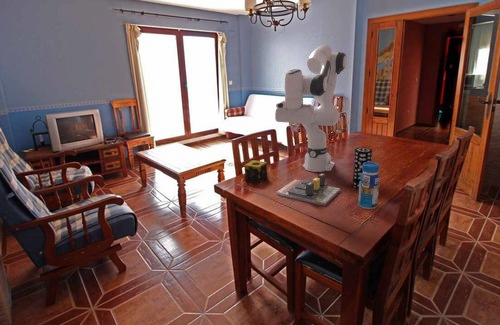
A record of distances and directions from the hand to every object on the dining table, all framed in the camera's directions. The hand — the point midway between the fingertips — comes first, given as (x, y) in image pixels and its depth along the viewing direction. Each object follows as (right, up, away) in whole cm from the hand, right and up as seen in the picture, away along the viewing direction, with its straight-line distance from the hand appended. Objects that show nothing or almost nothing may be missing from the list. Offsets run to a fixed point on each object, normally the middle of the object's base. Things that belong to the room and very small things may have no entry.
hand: (294, 131), depth 148 cm
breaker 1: (+6, -31, -7) cm, 32 cm away
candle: (-19, -26, +25) cm, 40 cm away
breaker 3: (+15, -27, +4) cm, 31 cm away
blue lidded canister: (+31, -36, -14) cm, 50 cm away
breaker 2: (+11, -29, -1) cm, 31 cm away
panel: (+8, -32, +2) cm, 33 cm away
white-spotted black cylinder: (+37, -29, +7) cm, 47 cm away
